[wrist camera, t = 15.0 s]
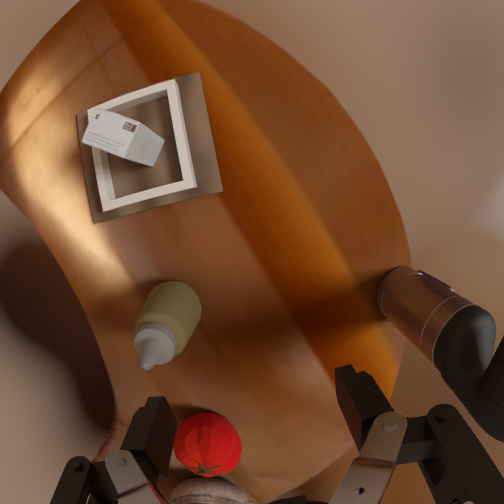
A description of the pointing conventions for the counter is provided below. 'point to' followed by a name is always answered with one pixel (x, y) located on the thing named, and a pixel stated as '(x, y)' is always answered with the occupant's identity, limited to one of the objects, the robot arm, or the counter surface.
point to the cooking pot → (208, 492)
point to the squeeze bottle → (166, 323)
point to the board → (167, 163)
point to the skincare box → (122, 137)
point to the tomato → (207, 444)
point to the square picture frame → (180, 137)
